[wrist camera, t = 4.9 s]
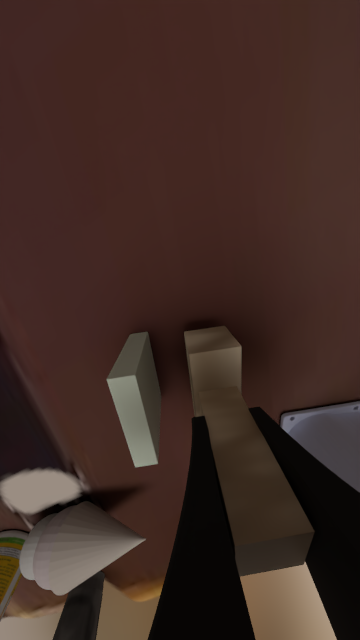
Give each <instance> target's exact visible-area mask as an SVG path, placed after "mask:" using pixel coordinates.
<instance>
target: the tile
mask: <svg viewBox="0 0 360 640" xmlns="http://www.w3.org/2000/svg"><path fill="white" fill-rule="evenodd" d="M107 382H108V385H109V388H110V391H111V394H112V397H113V401H114V404H115V407H116V410H117V413H118V416H119V419H120V422H121V425H122V428H123V431H124V434H125V437H126V440H127V443H128V446H129V450H130V453H131V456H132V459H133V462H134V465H135V467H141V466H147V465H153V464H158V454H159V434H160V413H161V393H160V388H159V383H158V378H157V373H156V369H155V364H154V359H153V354H152V349H151V345H150V340H149V335H148V332H141V333H135V334H130V336H129V338H128V340H127V341H126V343H125V345H124V347H123V349H122V351H121V353H120V355H119V357H118V359H117V361H116V362H115V364H114V366H113V368H112V370H111V372H110V374H109V376H108V378H107Z"/></svg>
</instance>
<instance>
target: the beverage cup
mask: <svg viewBox="0 0 360 640" xmlns="http://www.w3.org/2000/svg"><path fill="white" fill-rule="evenodd" d="M104 577H105V575H104V573H103V572H101V571H98V572H97V573H96V574H94V575H93V576H91V577H90V578H88V579H87V580H85V581H84V582H82V583H81V584H79V585H78V586H76V587H75V588H73V589H72V590H71V591H70V592H69V594H68V597H67V600H66V603H65V605H64V608H63V611H62V614H61V617H60V620H59V623H58V626H57V629H56V631H55V634H54V637H53V640H96V635H97V628H98V621H99V614H100V608H101V601H102V592H103V582H104Z"/></svg>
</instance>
